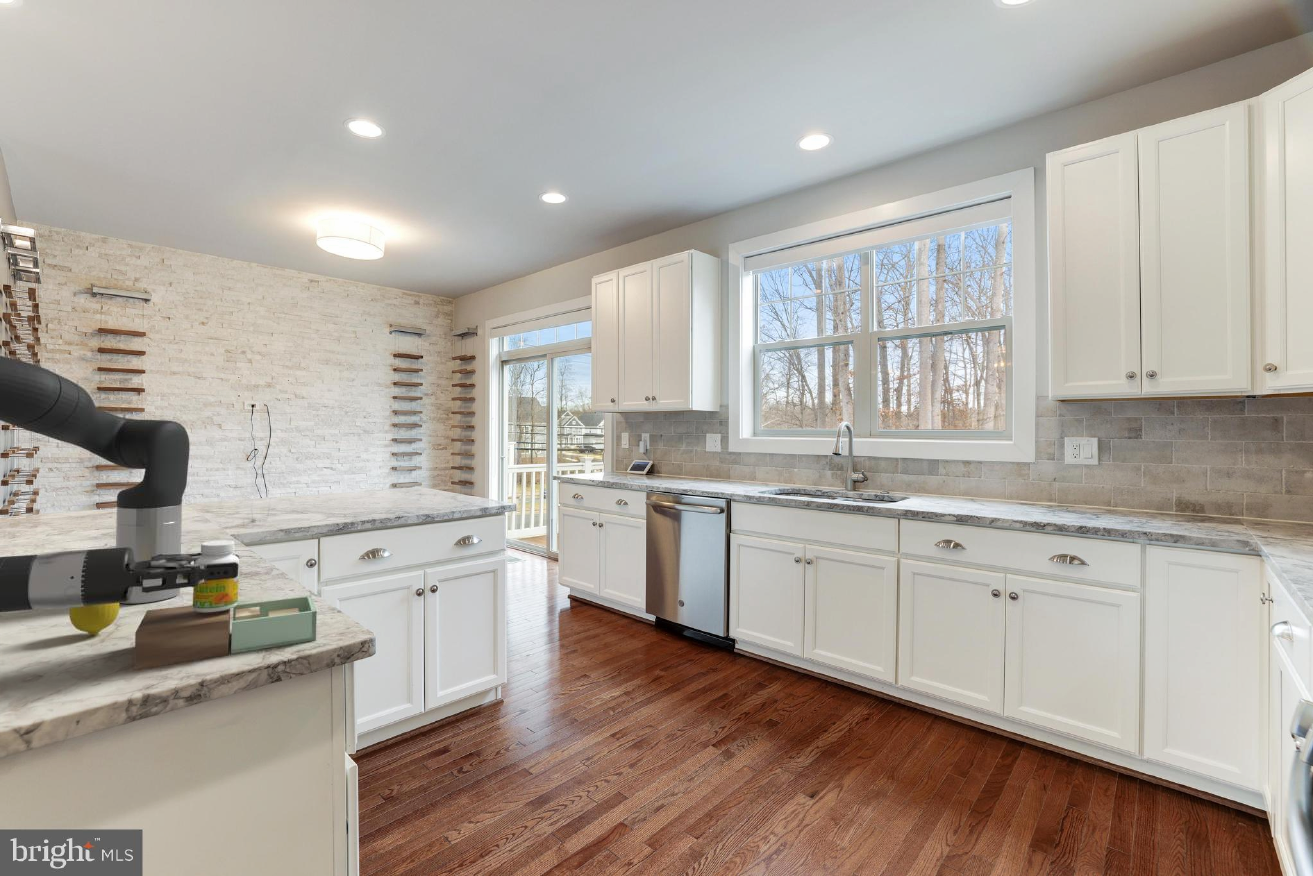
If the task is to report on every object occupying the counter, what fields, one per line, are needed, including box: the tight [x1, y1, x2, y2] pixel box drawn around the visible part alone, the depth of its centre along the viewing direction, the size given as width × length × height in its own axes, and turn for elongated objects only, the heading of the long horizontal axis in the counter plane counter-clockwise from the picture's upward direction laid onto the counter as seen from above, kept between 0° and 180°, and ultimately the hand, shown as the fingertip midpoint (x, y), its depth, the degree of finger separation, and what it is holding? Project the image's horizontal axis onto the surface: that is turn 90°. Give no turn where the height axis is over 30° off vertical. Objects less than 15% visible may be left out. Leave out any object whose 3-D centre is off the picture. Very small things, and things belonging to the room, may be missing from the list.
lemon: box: [68, 603, 120, 636], centre depth 90 cm, size 6×6×8 cm
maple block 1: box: [235, 607, 260, 621], centre depth 89 cm, size 4×4×3 cm
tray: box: [230, 595, 317, 654], centre depth 91 cm, size 10×11×4 cm
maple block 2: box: [268, 608, 299, 617], centre depth 92 cm, size 4×4×3 cm
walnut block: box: [134, 604, 231, 670], centre depth 85 cm, size 11×10×5 cm
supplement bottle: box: [192, 539, 240, 613], centre depth 87 cm, size 5×5×10 cm
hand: (237, 565), depth 88 cm, fingers closed on supplement bottle, 5 cm apart
